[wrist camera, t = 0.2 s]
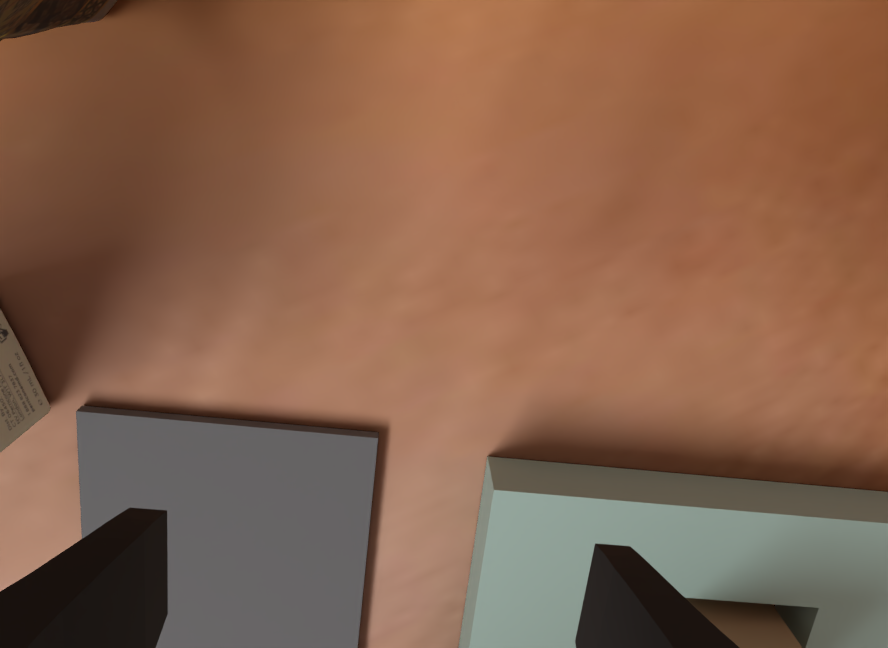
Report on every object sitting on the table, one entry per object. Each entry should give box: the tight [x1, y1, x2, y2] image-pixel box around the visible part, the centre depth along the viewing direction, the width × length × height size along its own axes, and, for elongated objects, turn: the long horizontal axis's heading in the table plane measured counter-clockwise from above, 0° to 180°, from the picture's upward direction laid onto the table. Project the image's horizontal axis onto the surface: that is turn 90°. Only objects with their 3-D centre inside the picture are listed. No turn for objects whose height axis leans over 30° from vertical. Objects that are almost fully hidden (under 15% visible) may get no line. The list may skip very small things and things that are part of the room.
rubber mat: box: [76, 406, 379, 648], centre depth 23 cm, size 9×9×1 cm
